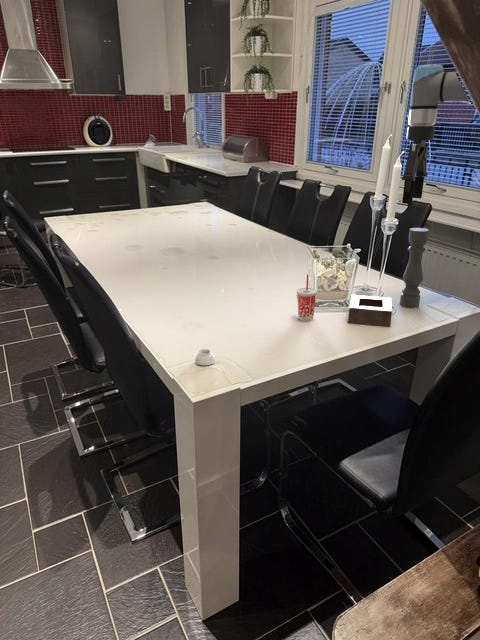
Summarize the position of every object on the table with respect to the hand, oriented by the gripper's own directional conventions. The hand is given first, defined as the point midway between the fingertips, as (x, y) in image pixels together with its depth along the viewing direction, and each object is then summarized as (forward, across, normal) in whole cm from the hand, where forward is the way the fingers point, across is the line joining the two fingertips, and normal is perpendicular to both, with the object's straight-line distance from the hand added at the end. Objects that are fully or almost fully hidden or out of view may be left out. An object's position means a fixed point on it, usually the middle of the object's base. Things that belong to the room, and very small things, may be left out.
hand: (412, 200), depth 143 cm
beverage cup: (+34, +27, -22) cm, 49 cm away
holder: (+34, +17, -5) cm, 38 cm away
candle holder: (+34, -1, +3) cm, 34 cm away
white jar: (+34, +67, -32) cm, 82 cm away
